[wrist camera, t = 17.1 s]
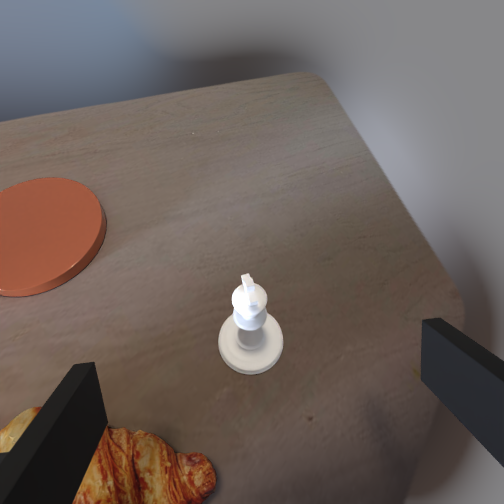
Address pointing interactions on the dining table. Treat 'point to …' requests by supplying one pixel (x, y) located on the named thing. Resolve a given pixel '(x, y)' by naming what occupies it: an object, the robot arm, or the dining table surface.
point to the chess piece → (250, 331)
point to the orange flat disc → (47, 234)
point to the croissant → (132, 468)
